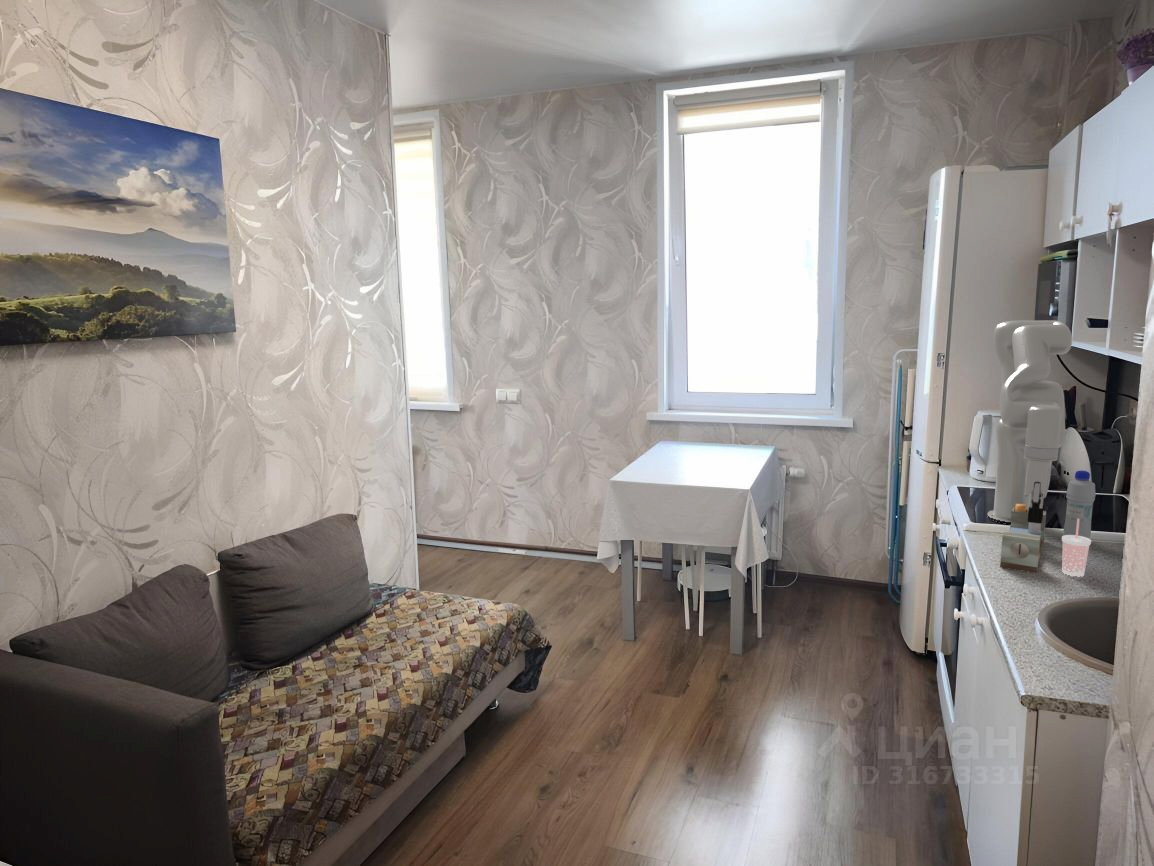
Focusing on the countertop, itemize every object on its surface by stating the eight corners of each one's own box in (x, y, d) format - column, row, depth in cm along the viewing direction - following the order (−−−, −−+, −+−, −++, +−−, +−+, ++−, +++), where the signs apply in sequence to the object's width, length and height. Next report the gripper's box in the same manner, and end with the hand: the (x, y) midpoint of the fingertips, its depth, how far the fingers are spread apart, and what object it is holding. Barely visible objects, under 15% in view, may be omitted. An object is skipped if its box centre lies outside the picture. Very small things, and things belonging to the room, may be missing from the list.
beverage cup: (1071, 567, 194) (1076, 514, 192) (1093, 576, 188) (1099, 521, 186) (1052, 571, 192) (1057, 516, 190) (1074, 579, 187) (1080, 523, 184)
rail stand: (1010, 536, 218) (1013, 507, 217) (1043, 541, 214) (1046, 511, 213) (999, 567, 195) (1002, 535, 194) (1036, 573, 191) (1039, 540, 189)
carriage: (1010, 535, 211) (1013, 498, 209) (1040, 540, 207) (1043, 502, 205) (1008, 541, 207) (1011, 503, 205) (1039, 545, 203) (1042, 506, 201)
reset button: (1015, 517, 216) (1016, 503, 216) (1025, 518, 215) (1026, 504, 214) (1014, 519, 214) (1015, 505, 214) (1024, 520, 213) (1026, 506, 212)
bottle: (1056, 540, 215) (1063, 469, 211) (1071, 535, 218) (1077, 466, 214) (1081, 546, 209) (1088, 474, 205) (1096, 542, 212) (1103, 471, 208)
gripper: (1027, 445, 210) (1021, 511, 213) (1021, 457, 197) (1016, 527, 200) (1059, 448, 206) (1053, 515, 209) (1056, 460, 193) (1049, 531, 196)
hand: (1035, 520), depth 205 cm, fingers closed on carriage, 2 cm apart
